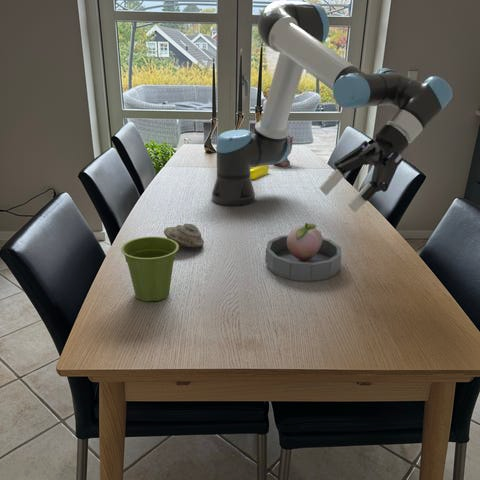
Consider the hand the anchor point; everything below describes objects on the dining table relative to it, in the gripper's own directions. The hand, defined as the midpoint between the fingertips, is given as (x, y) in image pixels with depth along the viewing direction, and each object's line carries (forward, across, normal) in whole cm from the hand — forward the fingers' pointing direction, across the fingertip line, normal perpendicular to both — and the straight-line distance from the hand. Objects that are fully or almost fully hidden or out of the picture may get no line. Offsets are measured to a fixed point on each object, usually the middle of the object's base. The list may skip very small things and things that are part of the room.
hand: (336, 199), depth 113 cm
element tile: (+6, +87, -18) cm, 89 cm away
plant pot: (+44, -4, +21) cm, 49 cm away
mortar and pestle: (-8, +98, -32) cm, 103 cm away
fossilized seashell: (+36, +18, +12) cm, 42 cm away
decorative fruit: (+16, 0, -5) cm, 17 cm away
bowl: (+17, -1, -6) cm, 18 cm away
